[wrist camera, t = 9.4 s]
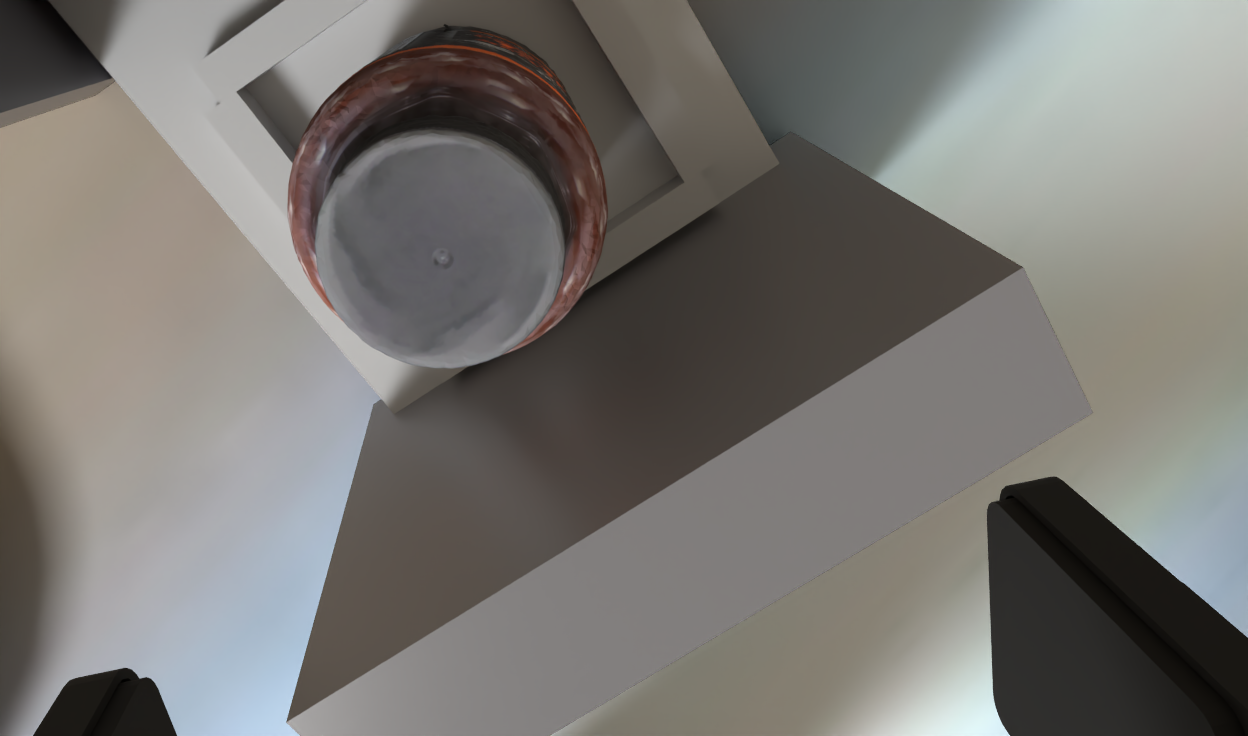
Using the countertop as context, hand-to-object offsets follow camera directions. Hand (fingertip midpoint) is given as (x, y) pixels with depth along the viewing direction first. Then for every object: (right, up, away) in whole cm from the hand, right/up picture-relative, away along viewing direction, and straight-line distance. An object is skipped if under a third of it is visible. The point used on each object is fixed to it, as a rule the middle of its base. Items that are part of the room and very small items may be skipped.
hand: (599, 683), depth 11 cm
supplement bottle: (-4, +10, +15) cm, 19 cm away
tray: (-5, +12, +16) cm, 21 cm away
